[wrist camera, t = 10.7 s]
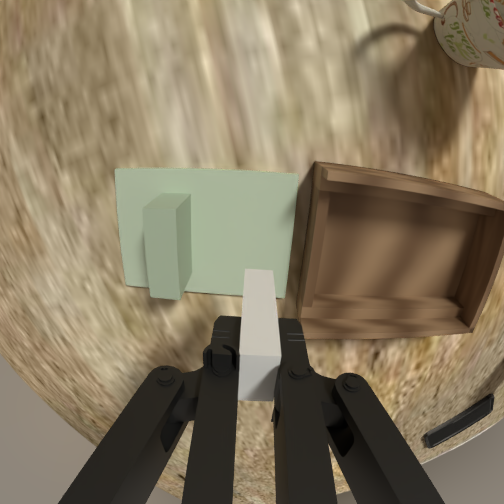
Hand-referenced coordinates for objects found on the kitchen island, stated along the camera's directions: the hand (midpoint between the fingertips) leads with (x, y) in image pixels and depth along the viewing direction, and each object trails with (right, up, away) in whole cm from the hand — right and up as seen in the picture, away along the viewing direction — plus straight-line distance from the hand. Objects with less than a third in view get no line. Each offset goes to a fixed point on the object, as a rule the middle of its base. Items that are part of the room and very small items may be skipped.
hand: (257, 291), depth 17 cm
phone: (+38, -29, +22) cm, 53 cm away
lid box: (+13, +3, +8) cm, 16 cm away
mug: (+16, +22, 0) cm, 27 cm away
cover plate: (-4, +4, +9) cm, 11 cm away
